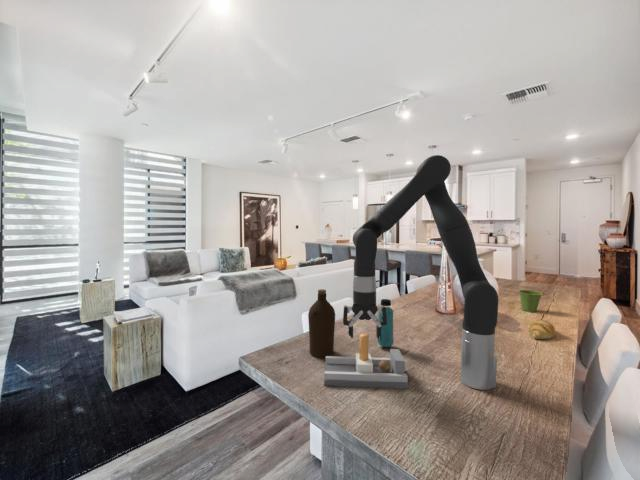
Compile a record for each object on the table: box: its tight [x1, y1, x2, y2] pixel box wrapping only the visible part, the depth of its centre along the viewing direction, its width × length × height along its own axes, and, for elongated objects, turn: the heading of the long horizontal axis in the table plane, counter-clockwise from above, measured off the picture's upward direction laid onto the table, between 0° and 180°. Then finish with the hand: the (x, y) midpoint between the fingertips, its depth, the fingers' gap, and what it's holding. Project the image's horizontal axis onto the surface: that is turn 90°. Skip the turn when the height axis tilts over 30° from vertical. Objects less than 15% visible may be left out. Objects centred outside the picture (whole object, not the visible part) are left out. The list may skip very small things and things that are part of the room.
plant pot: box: [518, 289, 543, 313], centre depth 177 cm, size 12×12×11 cm
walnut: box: [379, 360, 391, 373], centre depth 99 cm, size 4×4×4 cm
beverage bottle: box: [377, 298, 395, 348], centre depth 123 cm, size 6×7×20 cm
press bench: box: [323, 348, 409, 389], centre depth 100 cm, size 26×14×8 cm, turn 87°
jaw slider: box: [355, 333, 373, 373], centre depth 99 cm, size 5×9×12 cm, turn 177°
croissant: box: [527, 319, 556, 340], centre depth 138 cm, size 21×10×8 cm, turn 132°
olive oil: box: [307, 288, 336, 358], centre depth 117 cm, size 11×11×25 cm
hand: (364, 337), depth 99 cm, fingers open, 8 cm apart
